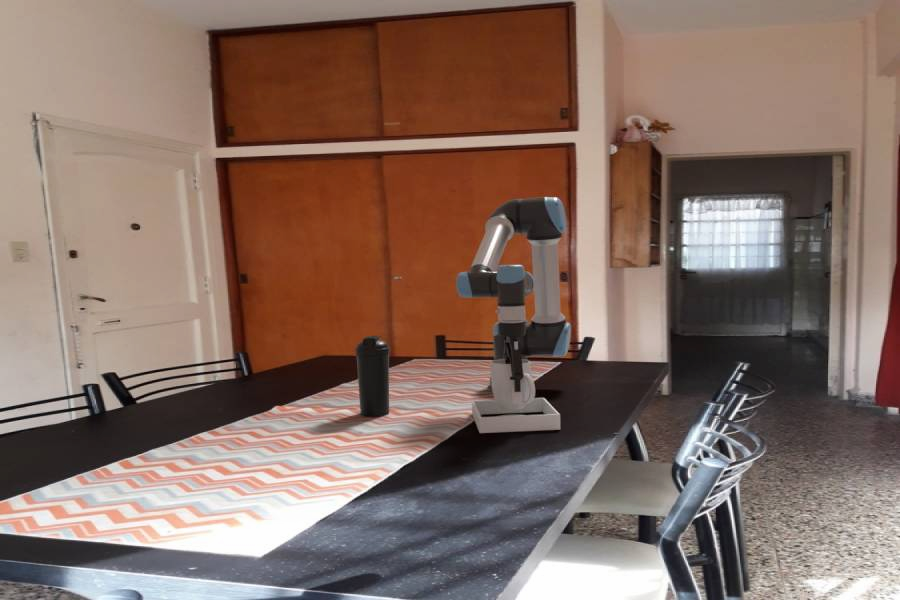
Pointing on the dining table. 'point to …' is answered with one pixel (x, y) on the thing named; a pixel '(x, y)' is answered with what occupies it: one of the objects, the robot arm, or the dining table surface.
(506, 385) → the mug
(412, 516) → the dining table surface
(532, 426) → the white shallow tray
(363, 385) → the water bottle
